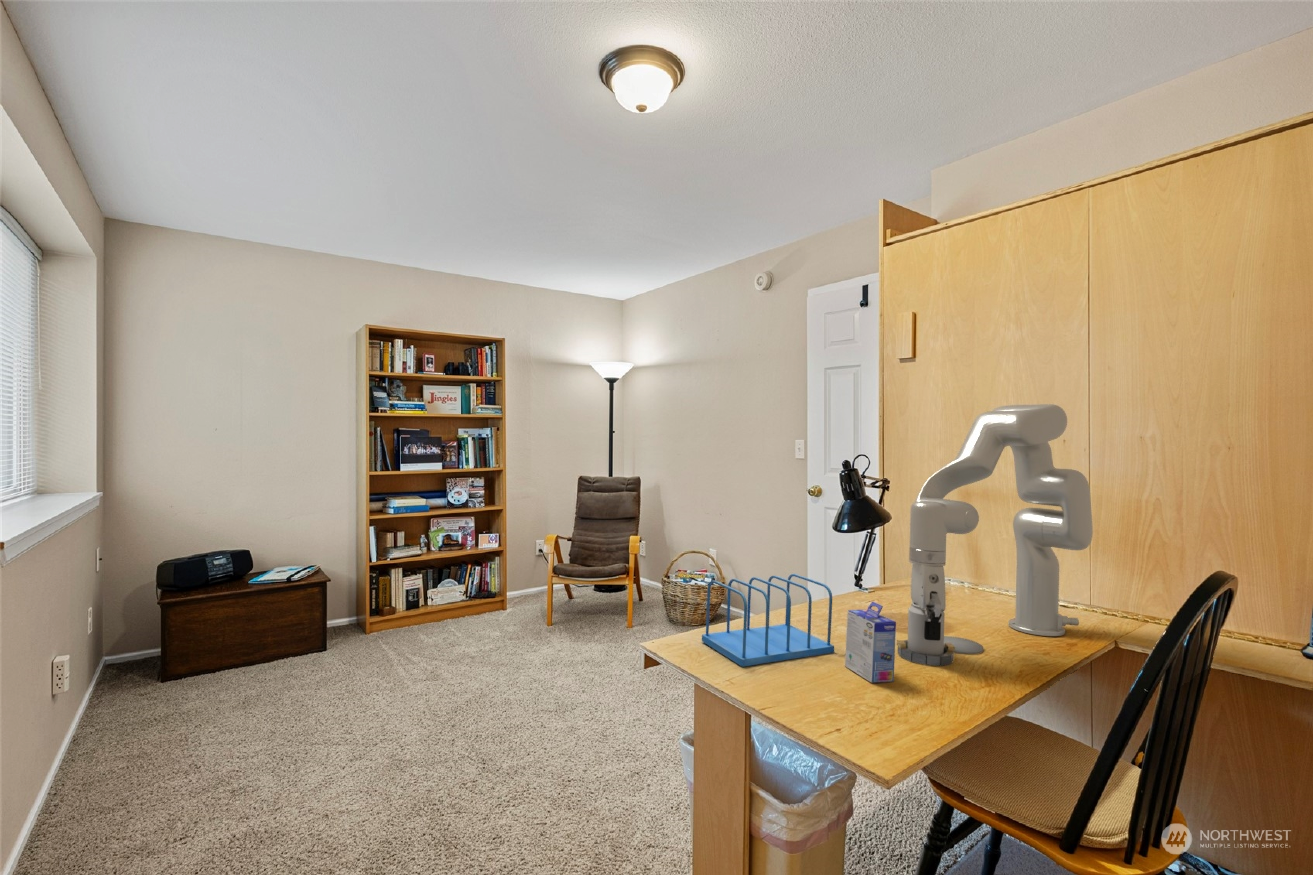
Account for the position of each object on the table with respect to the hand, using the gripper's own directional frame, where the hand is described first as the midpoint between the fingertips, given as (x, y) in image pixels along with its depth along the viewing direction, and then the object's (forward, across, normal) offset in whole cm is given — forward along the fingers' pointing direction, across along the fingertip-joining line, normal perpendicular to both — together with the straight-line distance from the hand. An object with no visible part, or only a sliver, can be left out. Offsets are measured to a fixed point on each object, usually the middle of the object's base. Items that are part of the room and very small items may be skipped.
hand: (925, 632), depth 139 cm
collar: (+5, 0, 0) cm, 5 cm away
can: (+6, 0, 0) cm, 6 cm away
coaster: (+5, +9, -10) cm, 15 cm away
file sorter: (+6, 0, +35) cm, 35 cm away
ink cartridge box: (+6, -13, +15) cm, 20 cm away
